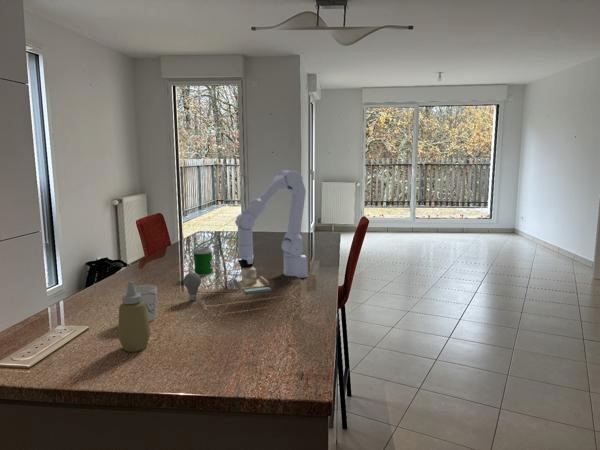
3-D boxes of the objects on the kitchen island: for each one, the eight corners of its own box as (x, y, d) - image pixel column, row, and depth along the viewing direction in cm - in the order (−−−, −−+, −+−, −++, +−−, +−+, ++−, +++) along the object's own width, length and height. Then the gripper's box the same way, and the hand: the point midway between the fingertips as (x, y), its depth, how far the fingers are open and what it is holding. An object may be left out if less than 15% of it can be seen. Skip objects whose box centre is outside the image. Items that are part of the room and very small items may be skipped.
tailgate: (266, 286, 167) (271, 288, 162) (267, 289, 167) (271, 291, 162) (242, 289, 164) (246, 291, 158) (242, 292, 164) (246, 294, 158)
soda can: (208, 278, 183) (207, 250, 181) (191, 278, 185) (190, 249, 183) (215, 274, 190) (214, 246, 189) (199, 273, 192) (198, 246, 190)
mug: (133, 330, 129) (131, 297, 128) (115, 324, 134) (113, 292, 132) (164, 317, 139) (162, 287, 137) (146, 313, 143) (144, 283, 142)
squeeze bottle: (124, 342, 121) (119, 278, 118) (154, 340, 121) (150, 277, 119) (114, 355, 113) (109, 286, 110) (147, 353, 114) (142, 285, 111)
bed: (261, 281, 178) (261, 275, 177) (268, 288, 169) (268, 282, 168) (233, 285, 173) (233, 279, 173) (239, 292, 165) (238, 285, 164)
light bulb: (205, 298, 158) (203, 271, 156) (196, 303, 152) (194, 275, 150) (190, 296, 159) (189, 269, 158) (181, 302, 154) (179, 274, 152)
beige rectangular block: (253, 280, 175) (253, 266, 175) (256, 283, 171) (256, 269, 171) (242, 281, 174) (241, 268, 173) (245, 284, 170) (244, 270, 169)
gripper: (231, 241, 180) (232, 274, 182) (239, 248, 166) (241, 283, 168) (248, 240, 182) (249, 272, 184) (258, 246, 169) (258, 281, 171)
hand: (246, 277), depth 177 cm, fingers closed
